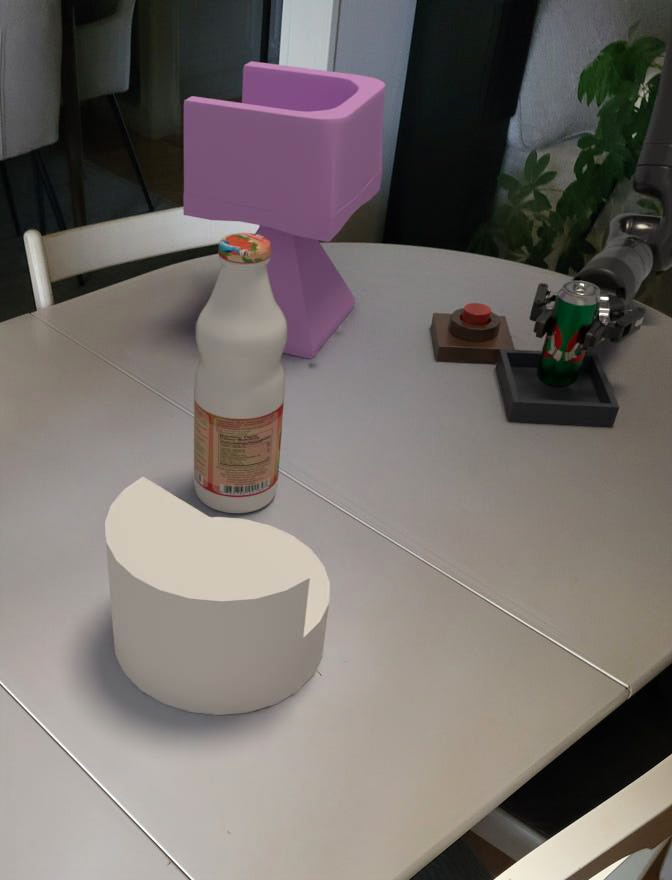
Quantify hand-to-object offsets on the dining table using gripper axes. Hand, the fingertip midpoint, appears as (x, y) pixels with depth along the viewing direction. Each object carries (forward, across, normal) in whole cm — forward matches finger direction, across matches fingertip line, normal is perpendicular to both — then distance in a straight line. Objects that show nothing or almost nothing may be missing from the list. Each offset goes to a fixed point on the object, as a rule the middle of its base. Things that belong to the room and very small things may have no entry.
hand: (563, 336), depth 117 cm
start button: (-10, -14, +6) cm, 18 cm away
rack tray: (-2, 0, +9) cm, 10 cm away
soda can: (-3, 0, +7) cm, 8 cm away
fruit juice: (+38, -22, +9) cm, 45 cm away
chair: (-1, -40, +10) cm, 41 cm away
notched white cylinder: (+59, -11, +9) cm, 61 cm away
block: (-10, -14, +9) cm, 19 cm away
